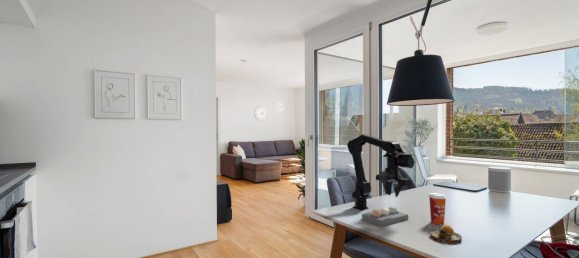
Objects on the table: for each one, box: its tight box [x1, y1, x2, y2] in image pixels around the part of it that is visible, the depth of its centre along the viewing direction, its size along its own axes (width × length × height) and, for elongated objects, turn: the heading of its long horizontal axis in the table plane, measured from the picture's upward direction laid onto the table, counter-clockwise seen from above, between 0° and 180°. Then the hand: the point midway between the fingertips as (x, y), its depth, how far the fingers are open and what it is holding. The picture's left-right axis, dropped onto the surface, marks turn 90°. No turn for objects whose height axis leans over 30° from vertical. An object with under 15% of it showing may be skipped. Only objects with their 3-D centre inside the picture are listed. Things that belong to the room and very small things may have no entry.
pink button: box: [371, 209, 381, 218], centre depth 141 cm, size 4×4×4 cm
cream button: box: [380, 207, 389, 216], centre depth 144 cm, size 4×4×4 cm
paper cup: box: [428, 192, 447, 226], centre depth 138 cm, size 8×8×14 cm
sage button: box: [388, 206, 398, 214], centre depth 147 cm, size 4×4×4 cm
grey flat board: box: [361, 207, 409, 227], centre depth 144 cm, size 13×19×2 cm
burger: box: [429, 224, 463, 245], centre depth 119 cm, size 12×12×8 cm
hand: (392, 196), depth 147 cm, fingers open, 4 cm apart
